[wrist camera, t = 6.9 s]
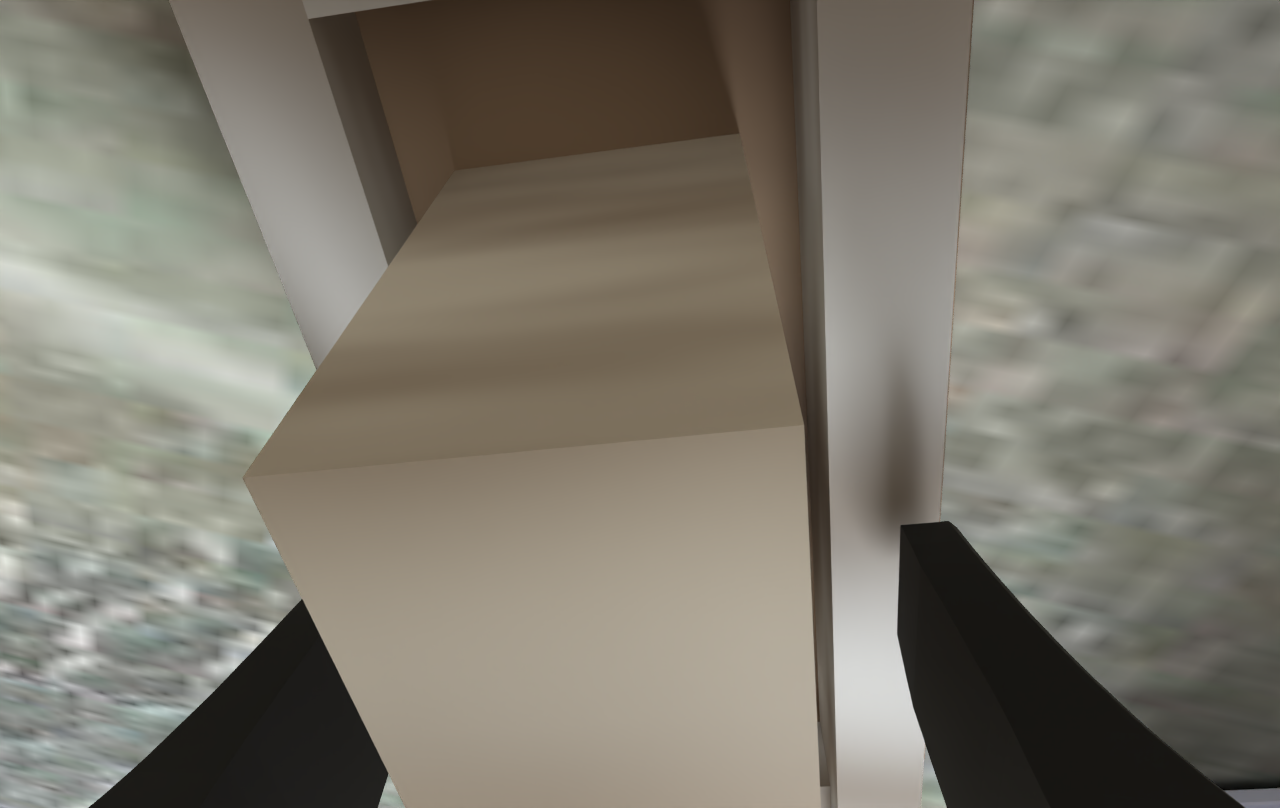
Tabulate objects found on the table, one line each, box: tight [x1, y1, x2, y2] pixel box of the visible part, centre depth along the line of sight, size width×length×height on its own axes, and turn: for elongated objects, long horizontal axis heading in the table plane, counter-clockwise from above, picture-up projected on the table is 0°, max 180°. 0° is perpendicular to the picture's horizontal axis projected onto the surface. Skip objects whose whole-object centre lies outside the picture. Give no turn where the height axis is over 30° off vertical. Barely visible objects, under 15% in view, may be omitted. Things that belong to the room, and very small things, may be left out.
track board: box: [168, 0, 974, 808], centre depth 14 cm, size 18×10×4 cm, turn 8°
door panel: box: [243, 133, 821, 808], centre depth 12 cm, size 10×4×7 cm, turn 8°
